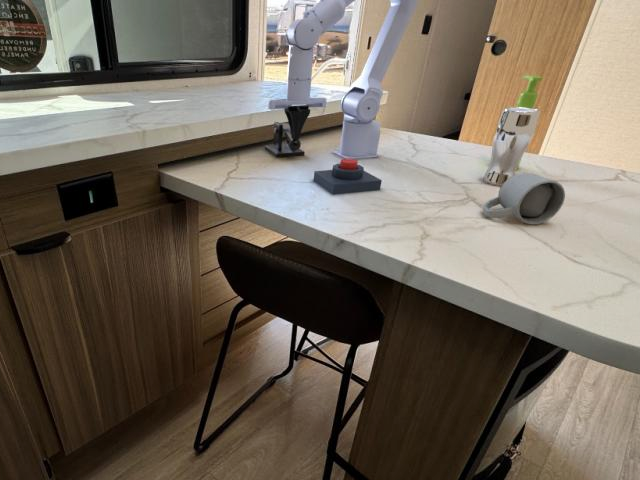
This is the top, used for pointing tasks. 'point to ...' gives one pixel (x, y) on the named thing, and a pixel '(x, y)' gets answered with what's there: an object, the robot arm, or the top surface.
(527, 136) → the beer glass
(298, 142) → the switch lever
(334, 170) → the control block
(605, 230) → the top surface
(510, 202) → the ceramic mug
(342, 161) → the button
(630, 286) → the top surface
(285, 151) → the switch bracket
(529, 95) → the soap dispenser
